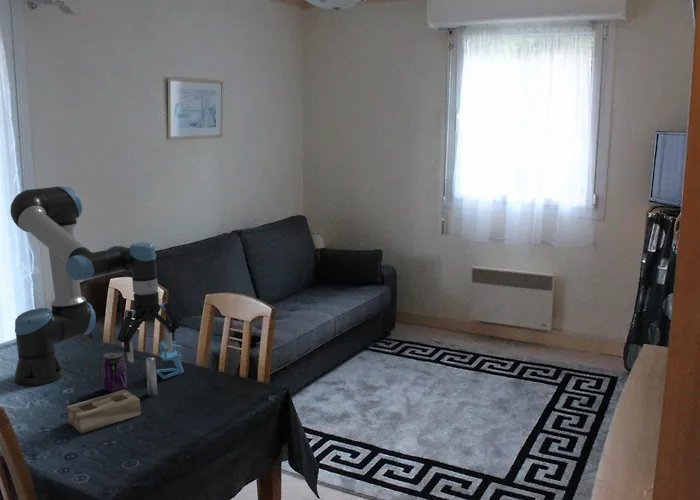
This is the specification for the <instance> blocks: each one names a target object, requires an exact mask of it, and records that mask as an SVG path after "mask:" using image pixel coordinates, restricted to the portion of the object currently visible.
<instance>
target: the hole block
mask: <svg viewBox="0 0 700 500" xmlns="http://www.w3.org/2000/svg"><path fill="white" fill-rule="evenodd" d="M141 411H142V410H141V399H140V397H139V398H138V397H137V396H136V395H134V394H132V393H131V392H130V391H128V390H127V389H123V390H121V391H118V392H110V393H108V394H105V395H102V396H98V397H95V398H91V399H88V400H85V401H81V402H80V401H79V402H77V403H74V404H70V405H67V406H66V412H67V423H69V424H70V426H72V427H73V428H75V429H76V430H77V431H78V432H79V433H80V434H84V433H87V432H91V431H95V430H97V429H99V428H103V427H106V426H109V425H113V424H115V423H119V422H122V421H125V420H127V419H132V418H135V417H137V416H140V415H142V414H141V413H142V412H141Z"/></svg>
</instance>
